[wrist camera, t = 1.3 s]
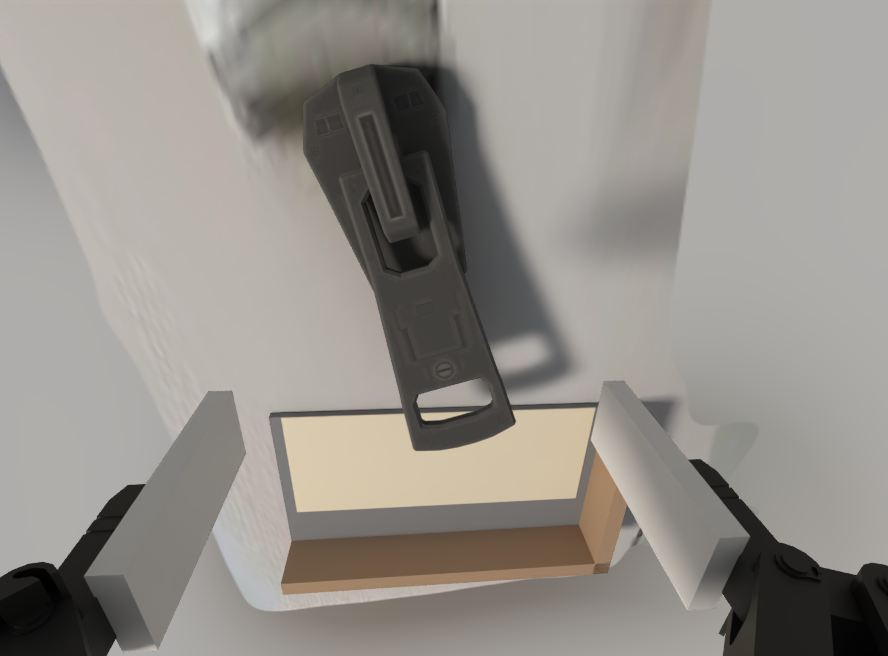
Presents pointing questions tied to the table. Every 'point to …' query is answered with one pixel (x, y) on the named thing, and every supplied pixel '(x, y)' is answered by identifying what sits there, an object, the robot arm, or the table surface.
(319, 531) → the tray
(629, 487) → the robot arm
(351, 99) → the zipper pull
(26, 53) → the table surface
